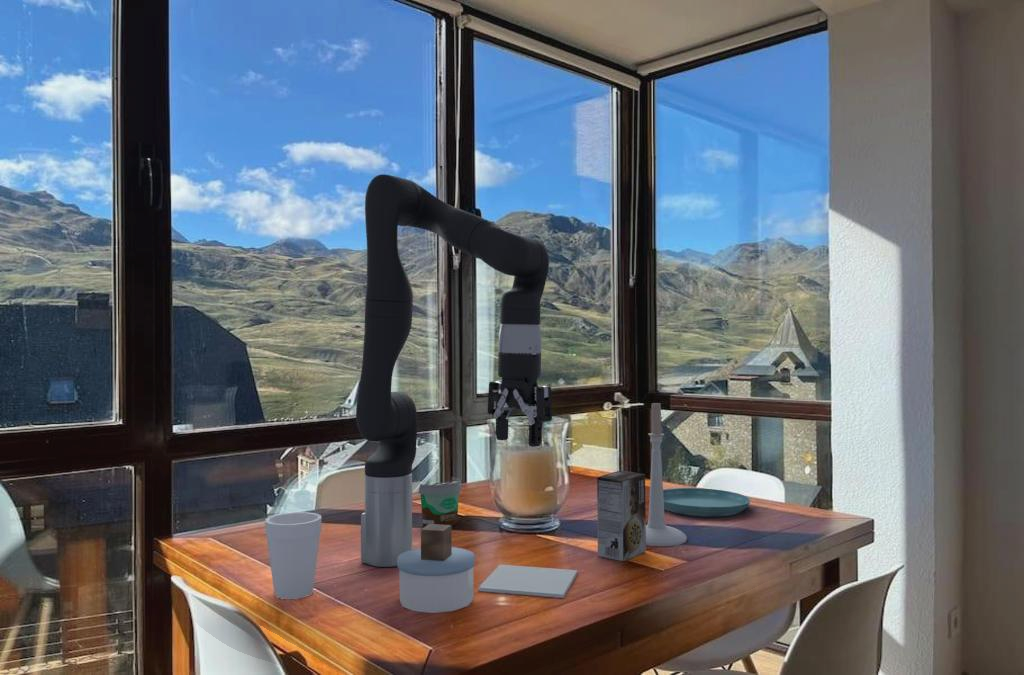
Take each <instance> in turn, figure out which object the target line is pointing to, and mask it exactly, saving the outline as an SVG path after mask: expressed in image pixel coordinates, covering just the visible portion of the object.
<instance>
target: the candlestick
mask: <svg viewBox="0 0 1024 675" xmlns="http://www.w3.org/2000/svg"><path fill="white" fill-rule="evenodd" d="M661 405H662V404H661V403H660V402H659V403H658V402H655V403H654V402H653V403H651V433H647V434H648V437H650V439H649V442H650V443H651V445H652V448H651V461H650V465H651V466H650V480H649V481H650V483H649V504H648V520H647V521H648V522H647V523H646V547H647V546H648V547H675V546H679V545H683V544H685V543H686V542H687V540H688V537H687V535H686V533H684V532H683V531H681V530H680V529H677V528H676V527H672V526H669V525H667V524H666V520H665V509H664V499H663V490H664V487H663V486H664V484H663V467H662V466H663V465H662V450H661V444H662V442H663V437H664V436H665V433H662V414H661V413H662V410H661V409H662V406H661Z"/></svg>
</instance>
